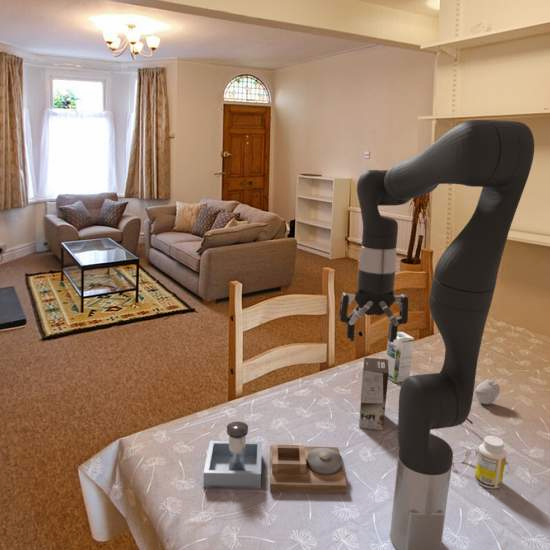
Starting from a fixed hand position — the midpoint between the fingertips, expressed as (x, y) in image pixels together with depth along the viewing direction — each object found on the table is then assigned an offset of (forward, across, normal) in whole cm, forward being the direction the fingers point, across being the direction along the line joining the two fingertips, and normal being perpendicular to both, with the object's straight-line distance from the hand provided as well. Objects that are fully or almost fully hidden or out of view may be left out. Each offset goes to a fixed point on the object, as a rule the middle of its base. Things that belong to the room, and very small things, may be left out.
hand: (371, 340), depth 112 cm
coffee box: (+30, +6, +19) cm, 36 cm away
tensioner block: (+30, -13, -4) cm, 33 cm away
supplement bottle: (+30, +27, -6) cm, 41 cm away
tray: (+30, -29, -4) cm, 42 cm away
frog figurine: (+30, +41, +30) cm, 59 cm away
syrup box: (+30, +19, +45) cm, 57 cm away
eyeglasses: (+31, +24, +10) cm, 40 cm away
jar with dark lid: (+30, -28, -4) cm, 41 cm away
